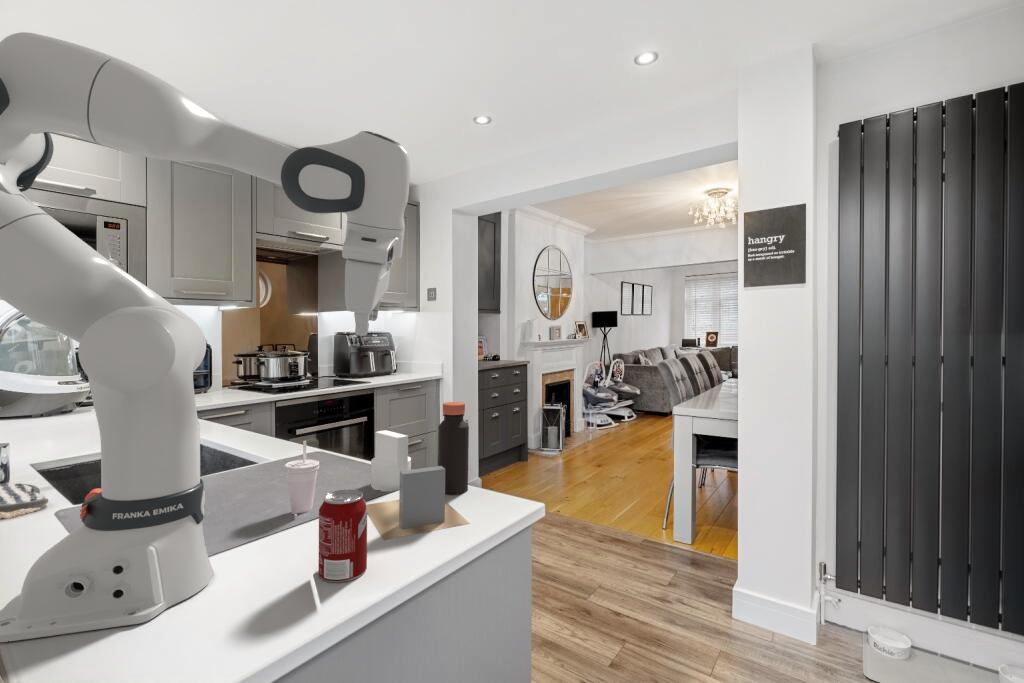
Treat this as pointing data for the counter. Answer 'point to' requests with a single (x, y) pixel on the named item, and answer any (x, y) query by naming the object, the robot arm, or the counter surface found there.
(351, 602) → the counter surface
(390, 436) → the cylinder with rectangular tab
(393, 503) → the mat
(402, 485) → the tile
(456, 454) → the bottle
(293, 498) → the smoothie
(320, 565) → the soda can
